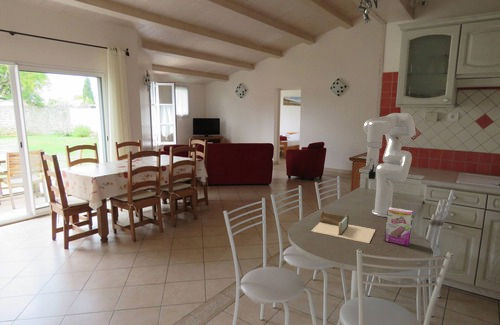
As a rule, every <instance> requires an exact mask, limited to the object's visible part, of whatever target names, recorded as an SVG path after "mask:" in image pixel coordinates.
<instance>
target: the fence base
mask: <svg viewBox="0 0 500 325" xmlns="http://www.w3.org/2000/svg"><path fill="white" fill-rule="evenodd" d="M345 217H347V227H348V224H349V222H350V221H349V219H350V218H349V217H350V216H349V215H347V214H345V215H344V214H343V215H341V214H338V213H337V214H336V213H330V212H326V211H324V210H320V213H319V223H320V222H324V223H329V224H334V225H339V222H341V221H342V220H343V219H344V218H345Z"/></svg>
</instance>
